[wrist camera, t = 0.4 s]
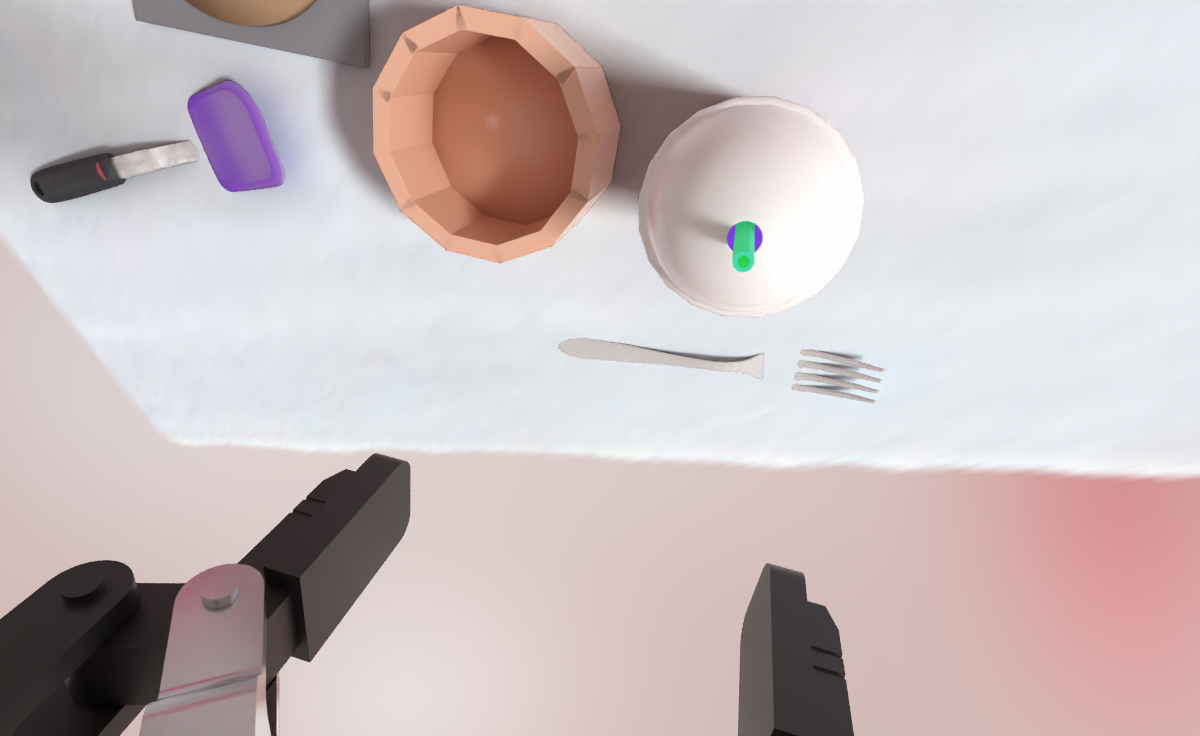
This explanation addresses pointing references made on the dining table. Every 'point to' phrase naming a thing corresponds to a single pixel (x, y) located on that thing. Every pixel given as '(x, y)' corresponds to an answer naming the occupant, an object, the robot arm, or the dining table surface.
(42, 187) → the spatula
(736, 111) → the smoothie
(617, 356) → the fork
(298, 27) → the mat
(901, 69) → the dining table surface
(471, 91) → the bowl
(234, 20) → the lid
